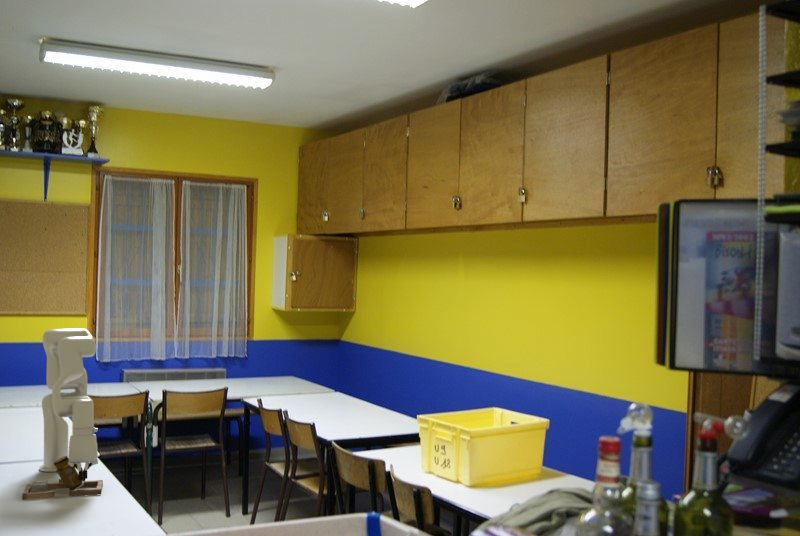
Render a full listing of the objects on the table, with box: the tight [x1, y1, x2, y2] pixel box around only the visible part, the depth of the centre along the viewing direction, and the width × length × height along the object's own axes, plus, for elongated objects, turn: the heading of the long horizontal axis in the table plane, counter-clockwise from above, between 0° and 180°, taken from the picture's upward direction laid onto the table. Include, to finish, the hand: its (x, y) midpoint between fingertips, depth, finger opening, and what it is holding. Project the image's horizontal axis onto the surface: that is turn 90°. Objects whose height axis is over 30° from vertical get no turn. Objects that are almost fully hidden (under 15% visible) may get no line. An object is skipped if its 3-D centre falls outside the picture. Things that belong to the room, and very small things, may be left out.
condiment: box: [54, 456, 84, 490], centre depth 313 cm, size 7×8×12 cm
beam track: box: [21, 478, 104, 501], centre depth 313 cm, size 16×27×4 cm, turn 107°
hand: (83, 480), depth 314 cm, fingers closed
